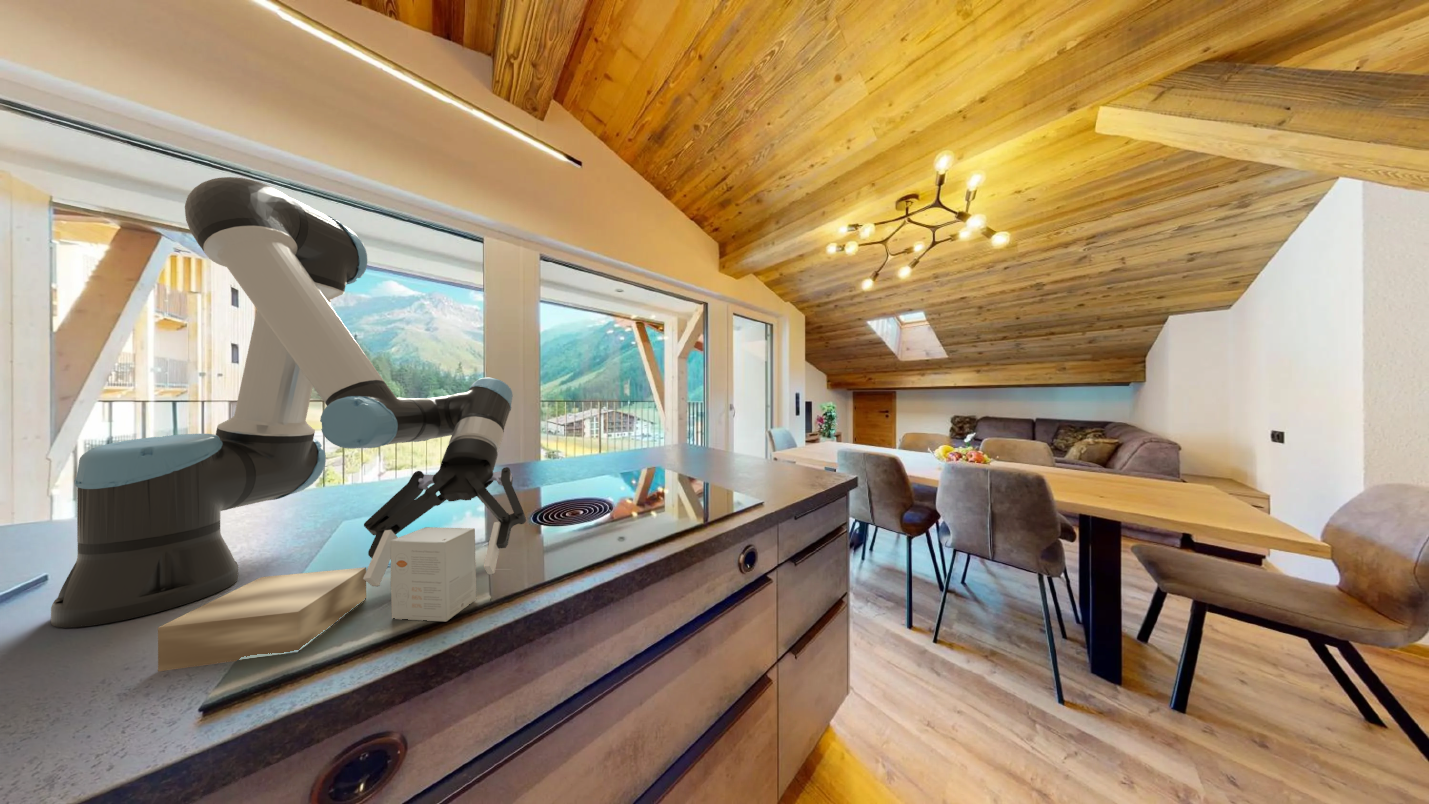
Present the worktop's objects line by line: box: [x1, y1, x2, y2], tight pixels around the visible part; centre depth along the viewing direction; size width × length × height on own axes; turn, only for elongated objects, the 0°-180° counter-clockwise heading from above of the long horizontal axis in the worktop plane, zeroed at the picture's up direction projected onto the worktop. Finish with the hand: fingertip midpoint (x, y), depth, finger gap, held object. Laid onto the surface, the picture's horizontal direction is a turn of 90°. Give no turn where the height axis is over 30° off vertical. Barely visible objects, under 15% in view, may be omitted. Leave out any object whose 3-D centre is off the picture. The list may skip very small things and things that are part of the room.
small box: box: [390, 526, 477, 622], centre depth 52 cm, size 8×6×10 cm
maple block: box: [157, 567, 367, 672], centre depth 47 cm, size 12×12×5 cm
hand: (431, 576), depth 50 cm, fingers open, 13 cm apart
